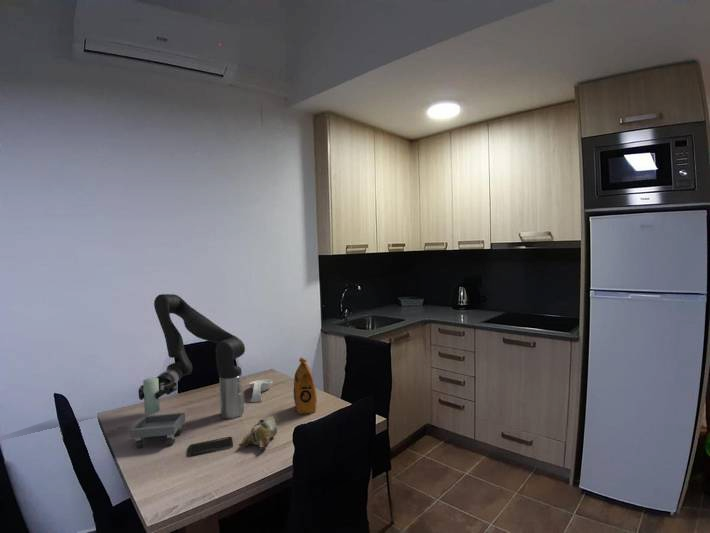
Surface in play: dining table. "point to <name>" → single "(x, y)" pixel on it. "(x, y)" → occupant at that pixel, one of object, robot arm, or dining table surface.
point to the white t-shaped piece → (259, 388)
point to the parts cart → (158, 427)
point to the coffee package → (304, 389)
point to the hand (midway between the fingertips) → (148, 396)
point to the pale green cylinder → (151, 395)
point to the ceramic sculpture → (261, 433)
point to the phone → (210, 446)
